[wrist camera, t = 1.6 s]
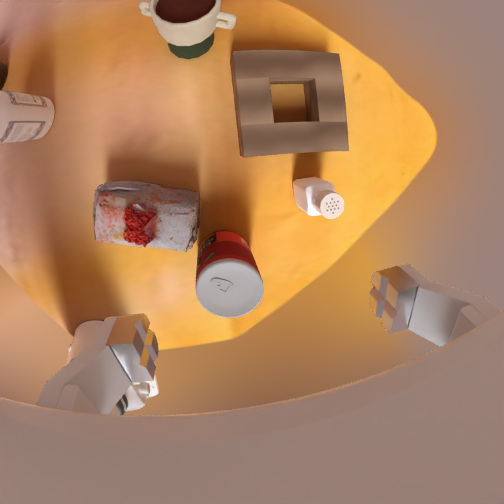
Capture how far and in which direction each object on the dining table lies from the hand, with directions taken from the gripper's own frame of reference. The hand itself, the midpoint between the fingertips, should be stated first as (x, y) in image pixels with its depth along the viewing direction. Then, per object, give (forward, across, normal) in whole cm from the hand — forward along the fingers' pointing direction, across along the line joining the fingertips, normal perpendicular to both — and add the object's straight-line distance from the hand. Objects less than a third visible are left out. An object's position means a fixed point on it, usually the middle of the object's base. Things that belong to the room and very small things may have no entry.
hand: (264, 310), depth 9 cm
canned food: (+30, +2, +11) cm, 32 cm away
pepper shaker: (+31, -11, +4) cm, 33 cm away
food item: (+30, +11, +2) cm, 32 cm away
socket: (+31, -9, -9) cm, 33 cm away
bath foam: (+30, +27, -16) cm, 44 cm away
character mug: (+31, +2, -21) cm, 37 cm away
